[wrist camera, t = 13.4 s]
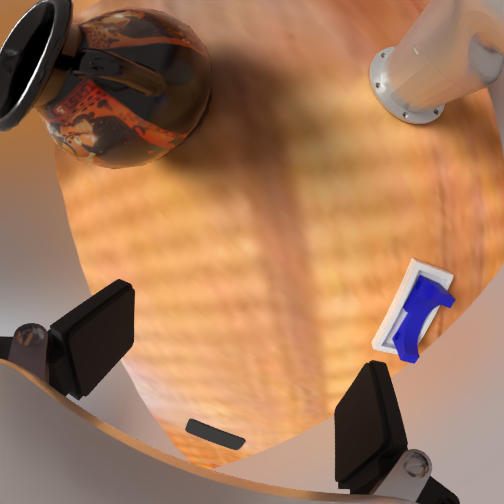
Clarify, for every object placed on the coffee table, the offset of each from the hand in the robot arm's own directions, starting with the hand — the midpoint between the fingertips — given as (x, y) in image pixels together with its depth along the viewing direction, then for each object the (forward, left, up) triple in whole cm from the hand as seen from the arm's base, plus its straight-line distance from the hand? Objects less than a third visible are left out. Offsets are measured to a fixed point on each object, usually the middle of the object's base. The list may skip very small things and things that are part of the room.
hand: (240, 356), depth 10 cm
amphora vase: (-13, -23, -31) cm, 40 cm away
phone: (+57, -1, -31) cm, 65 cm away
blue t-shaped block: (+8, +24, -30) cm, 39 cm away
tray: (+8, +24, -30) cm, 39 cm away
